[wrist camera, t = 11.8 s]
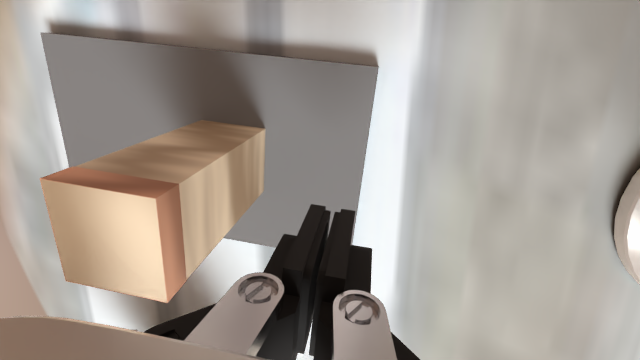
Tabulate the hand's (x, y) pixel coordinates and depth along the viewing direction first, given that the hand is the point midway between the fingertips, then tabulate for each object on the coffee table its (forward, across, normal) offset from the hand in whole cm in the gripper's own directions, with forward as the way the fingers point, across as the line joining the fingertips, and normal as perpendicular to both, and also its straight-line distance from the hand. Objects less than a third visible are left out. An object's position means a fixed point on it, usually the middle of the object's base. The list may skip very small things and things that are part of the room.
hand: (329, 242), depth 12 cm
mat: (+8, +9, 0) cm, 12 cm away
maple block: (+8, +7, 0) cm, 10 cm away
